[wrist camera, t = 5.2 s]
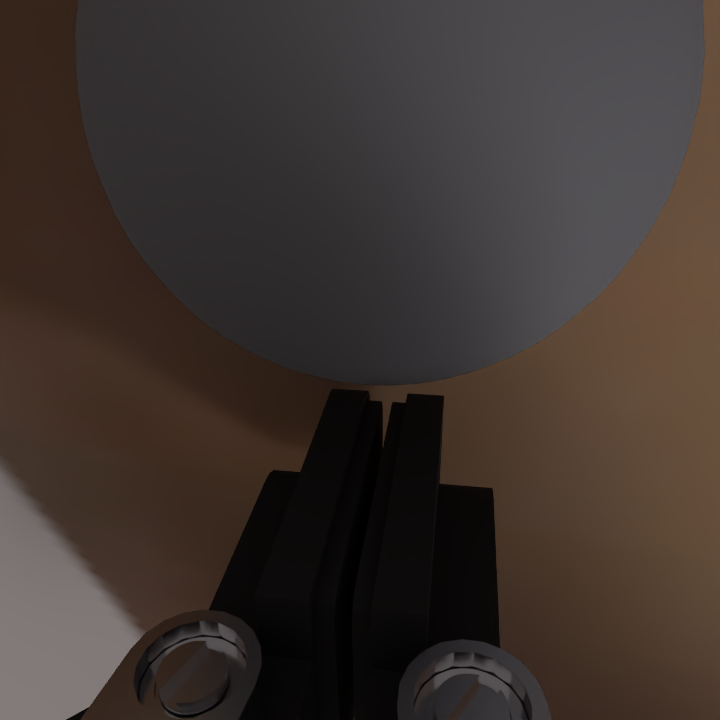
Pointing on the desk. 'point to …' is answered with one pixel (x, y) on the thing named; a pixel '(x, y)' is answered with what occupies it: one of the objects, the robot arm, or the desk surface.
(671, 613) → the desk surface
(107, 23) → the grey ball
